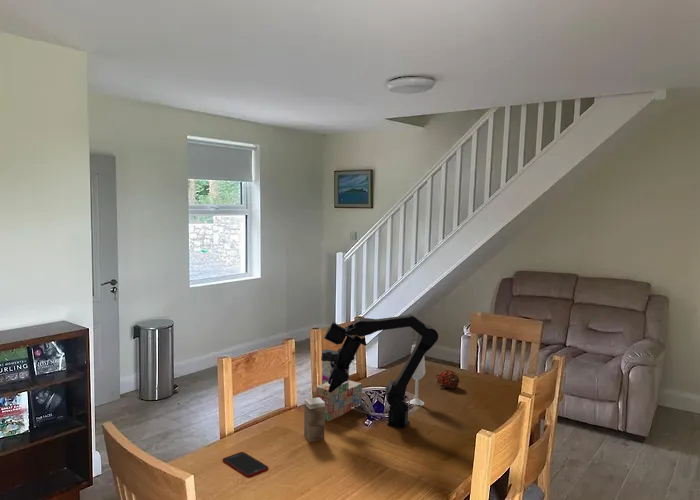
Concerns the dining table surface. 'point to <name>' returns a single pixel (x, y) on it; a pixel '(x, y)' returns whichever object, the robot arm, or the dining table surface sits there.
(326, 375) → the candy bar box
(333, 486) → the dining table surface
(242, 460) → the cell phone
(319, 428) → the silver metal block
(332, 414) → the stack of blocks
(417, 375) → the champagne flute
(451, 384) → the dragon fruit
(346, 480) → the dining table surface
